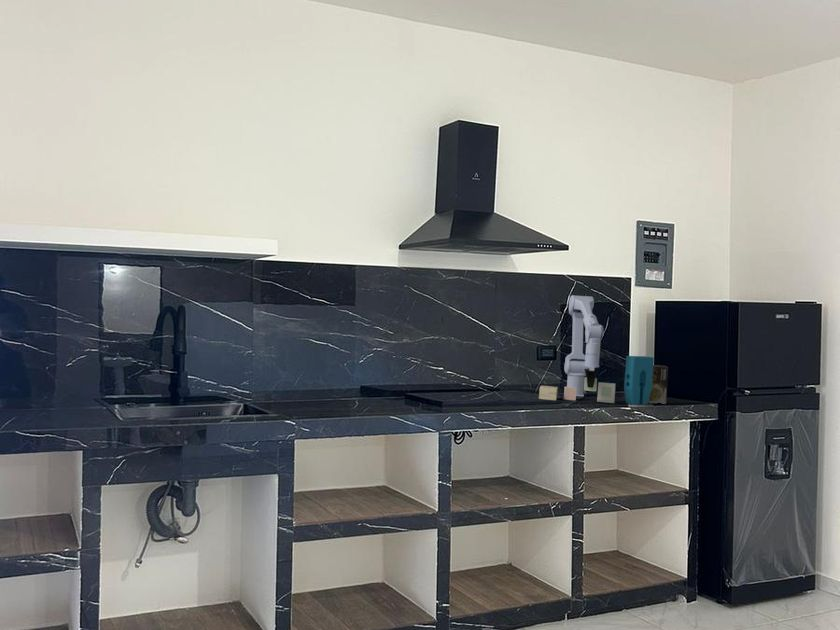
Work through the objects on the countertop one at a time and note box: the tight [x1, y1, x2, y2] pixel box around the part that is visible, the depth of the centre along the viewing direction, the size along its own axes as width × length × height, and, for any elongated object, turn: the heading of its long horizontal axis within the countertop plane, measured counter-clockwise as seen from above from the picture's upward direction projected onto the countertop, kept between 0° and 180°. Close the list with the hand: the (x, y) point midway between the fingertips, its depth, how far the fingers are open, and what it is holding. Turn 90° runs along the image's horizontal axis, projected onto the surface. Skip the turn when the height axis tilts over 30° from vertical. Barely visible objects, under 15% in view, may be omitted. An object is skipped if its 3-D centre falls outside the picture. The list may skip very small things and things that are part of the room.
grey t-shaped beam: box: [596, 381, 616, 404], centre depth 370 cm, size 4×7×8 cm, turn 80°
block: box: [623, 355, 655, 406], centre depth 370 cm, size 12×5×20 cm, turn 120°
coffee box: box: [648, 364, 669, 405], centre depth 379 cm, size 9×6×16 cm
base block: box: [538, 385, 558, 401], centre depth 368 cm, size 7×7×5 cm
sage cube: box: [583, 376, 598, 392], centre depth 364 cm, size 5×5×5 cm
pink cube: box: [563, 386, 577, 401], centre depth 371 cm, size 5×5×5 cm
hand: (590, 386), depth 364 cm, fingers closed on sage cube, 5 cm apart
